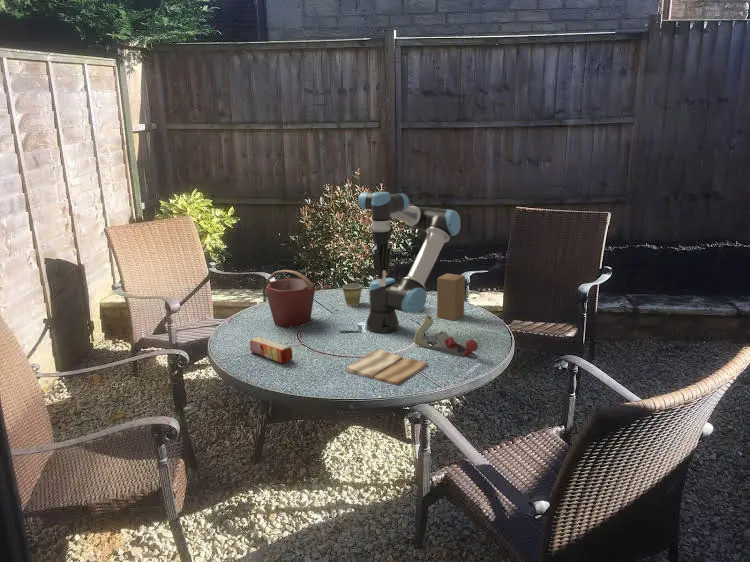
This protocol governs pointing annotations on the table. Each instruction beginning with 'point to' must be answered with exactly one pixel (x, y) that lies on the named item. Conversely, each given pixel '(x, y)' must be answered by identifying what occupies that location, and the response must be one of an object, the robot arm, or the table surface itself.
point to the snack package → (271, 350)
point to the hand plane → (444, 342)
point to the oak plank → (401, 371)
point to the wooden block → (450, 296)
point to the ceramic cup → (352, 294)
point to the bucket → (290, 299)
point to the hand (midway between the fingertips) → (382, 285)
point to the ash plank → (373, 363)
